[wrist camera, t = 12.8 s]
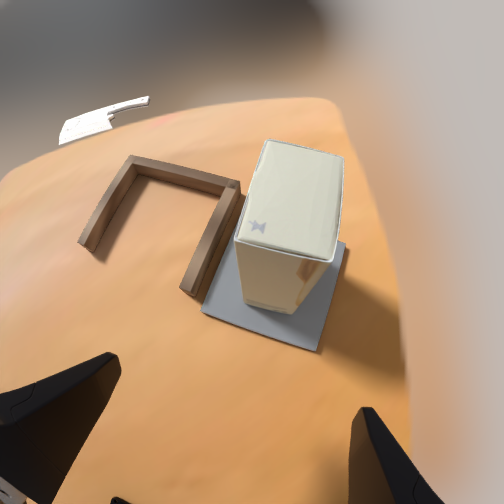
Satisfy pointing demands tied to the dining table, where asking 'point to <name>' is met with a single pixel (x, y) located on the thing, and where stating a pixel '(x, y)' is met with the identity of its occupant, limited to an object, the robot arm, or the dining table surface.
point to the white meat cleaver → (97, 120)
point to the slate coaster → (266, 321)
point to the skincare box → (288, 224)
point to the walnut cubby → (176, 175)
